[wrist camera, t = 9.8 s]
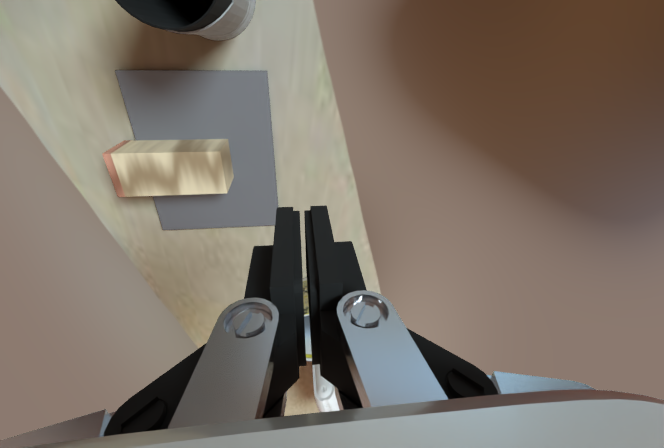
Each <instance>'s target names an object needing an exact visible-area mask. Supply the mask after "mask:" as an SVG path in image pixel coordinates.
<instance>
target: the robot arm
mask: <svg viewBox="0 0 664 448" xmlns="http://www.w3.org/2000/svg"><path fill="white" fill-rule="evenodd" d="M305 240H306V269H307V289H308V305H309V320H310V336H311V351H312V365H317V364H320V376H322V377H323V378H325V379H326V380H327V381H329V382H330V383H331V384H332V385H334V388H335V396H336V399H337V403H338V406H339V411H329V412H320V413H310V414H301V415H292V416H284V413H285V407H286V401H287V390H288V389H289V388H290V387H291V386H292V385H293V384H294V383H295V382H296V381H297V380H298V378H299V366H306V347H305V324H304V301H303V279H302V257H301V235H300V213H299V211H293V207H279V208H277V210H276V221H275V232H274V244H273V245H269V246H254V248H253V253H252V258H251V264H250V269H249V275H248V280H247V286H246V291H245V297H244V299H242V300H239V301H237V302H235V303H233V304H231V305H229V306H228V307H227V308H226V309H225V310H224V311H223V312H222V313H221V315H220V316H219V318H218V320H217V322H216V324H215V326H214V329H213V331H212V333H211V335H210V337H209V339H208V342H207V343H206V344H205V345H203V346H202V347H200V348H199V349H198V350H196V351H195V352H194V353H192V354H191V355H190V356H188V357H187V358H185V359H184V360H182V361H181V362H180V363H178V364H177V365H175V366H174V367H173V368H171V369H170V370H169V371H167V372H166V373H164V374H163V375H162V376H160V377H159V378H158V379H156V380H155V381H153V382H152V383H151V384H149V385H148V386H146V387H145V388H144V389H142V390H141V391H139V392H138V393H137V394H135V395H134V396H132V397H131V398H130V399H129V400H128V401H126V402H125V403H124V404H123V405H122V406H121V407H119V409H118V410H117V411H116V412H113V413H108V412H107V410H106V409H104V410H101V411H98V412H95V413H91V414H88V415H84V416H81V417H78V418H74V419H71V420H68V421H64V422H61V423H57V424H54V425H51V426H47V427H44V428H41V429H37V430H34V431H31V432H27V433H24V434H21V435H17V436H14V437H11V438H7V439H4V440H0V448H664V400H662V399H657V398H654V397H649V396H646V395H639V394H632V393H625V392H618V391H607V390H596V389H594V388H592V387H590V386H588V385H586V384H583V383H579V382H575V381H569V380H561V379H553V378H545V377H537V376H529V375H520V374H512V373H504V372H496V371H494V372H493V374H492V376H490V375H486V374H485V373H484V372H483V371H481V370H480V369H478V368H477V367H476V366H474V365H472V364H471V363H469V362H467V361H465V360H463V359H461V358H460V357H458V356H456V355H454V354H452V353H451V352H449V351H447V350H445V349H443V348H442V347H440V346H438V345H436V344H434V343H433V342H431V341H429V340H427V339H425V338H424V337H422V336H420V335H418V334H416V333H414V332H413V331H411V330H409V329H407V328H406V327H405V325H404V323H403V322H402V320H401V318H400V317H399V315H398V313H397V312H396V310H395V308H394V307H393V305H392V304H391V303H390V301H389V300H388V299H387V298H385V297H384V296H382V295H381V294H378V293H375V292H372V291H367V290H366V287H365V284H364V280H363V277H362V273H361V270H360V267H359V263H358V260H357V257H356V253H355V250H354V247H353V244H352V242H351V241H349V242H334V239H333V234H332V229H331V224H330V220H329V215H328V210H327V206H311V209H310V210H309V211H305Z"/></svg>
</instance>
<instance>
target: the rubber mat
mask: <svg viewBox="0 0 664 448" xmlns="http://www.w3.org/2000/svg"><path fill="white" fill-rule="evenodd" d="M115 72H116V76H117V79H118V82H119V86H120V89H121V92H122V96H123V99H124V102H125V106H126V109H127V112H128V115H129V119H130V122H131V125H132V129H133V132H134V135H135V139H136V140H195V139H228V142H229V148H230V155H231V161H232V168H233V174H234V178H233V181H232V183H231V186H230V188H229V190H228V193H224V194H193V195H163V196H153V198H154V201H155V205H156V208H157V211H158V215H159V218H160V221H161V225H162V228H163V230H176V229H199V228H222V227H245V226H267V225H275V221H276V210H277V208H278V197H277V185H276V173H275V160H274V148H273V136H272V124H271V112H270V99H269V87H268V75H267V71H205V70H115Z"/></svg>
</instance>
